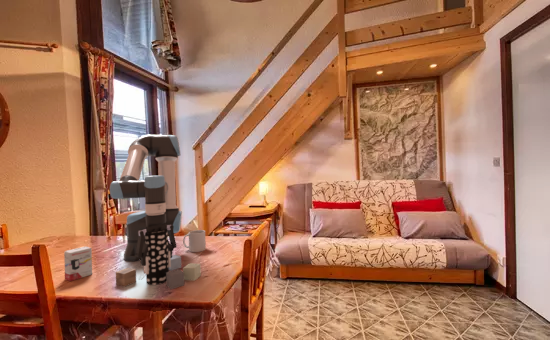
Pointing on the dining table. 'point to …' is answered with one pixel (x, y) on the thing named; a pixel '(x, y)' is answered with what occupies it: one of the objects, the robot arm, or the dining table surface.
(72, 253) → the ink box
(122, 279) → the walnut block
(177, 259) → the dusty blue block
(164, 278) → the spotted tube
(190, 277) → the sage block
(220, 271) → the dining table surface
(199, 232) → the mug
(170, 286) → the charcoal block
